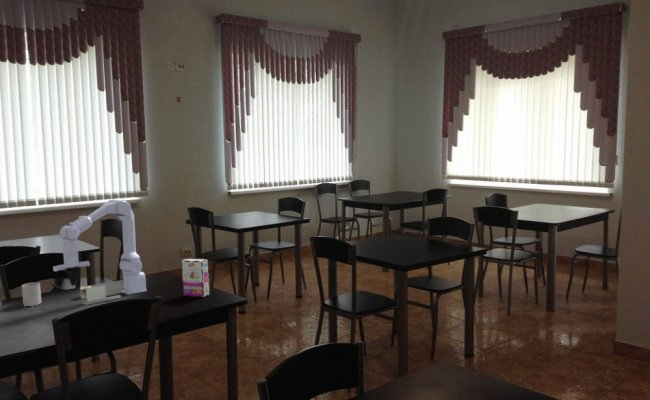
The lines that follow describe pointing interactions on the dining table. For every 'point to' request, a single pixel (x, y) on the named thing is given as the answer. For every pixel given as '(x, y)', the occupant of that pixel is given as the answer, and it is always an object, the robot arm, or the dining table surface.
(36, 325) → the dining table surface
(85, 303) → the rail
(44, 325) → the dining table surface
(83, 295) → the letter block
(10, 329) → the dining table surface
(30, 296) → the cup
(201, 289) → the candy bar box
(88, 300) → the grey flat block
